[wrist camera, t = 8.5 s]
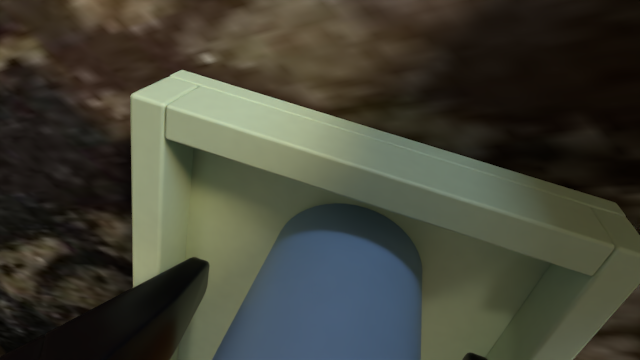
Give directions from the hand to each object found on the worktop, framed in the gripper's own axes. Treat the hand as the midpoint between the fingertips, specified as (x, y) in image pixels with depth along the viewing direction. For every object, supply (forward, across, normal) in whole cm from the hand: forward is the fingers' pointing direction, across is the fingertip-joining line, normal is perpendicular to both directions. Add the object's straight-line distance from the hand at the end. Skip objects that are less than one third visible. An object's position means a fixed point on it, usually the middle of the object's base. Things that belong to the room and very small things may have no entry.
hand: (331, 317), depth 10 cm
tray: (+2, 0, +6) cm, 7 cm away
